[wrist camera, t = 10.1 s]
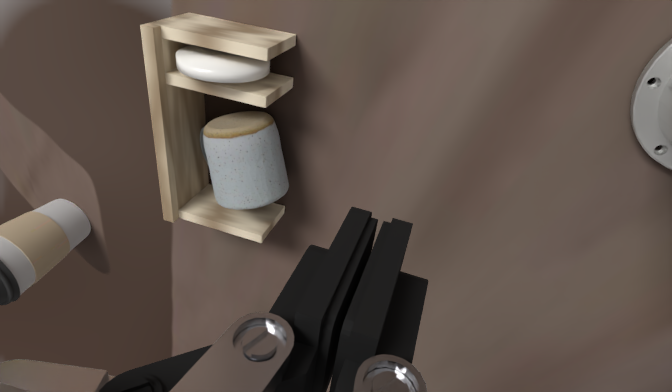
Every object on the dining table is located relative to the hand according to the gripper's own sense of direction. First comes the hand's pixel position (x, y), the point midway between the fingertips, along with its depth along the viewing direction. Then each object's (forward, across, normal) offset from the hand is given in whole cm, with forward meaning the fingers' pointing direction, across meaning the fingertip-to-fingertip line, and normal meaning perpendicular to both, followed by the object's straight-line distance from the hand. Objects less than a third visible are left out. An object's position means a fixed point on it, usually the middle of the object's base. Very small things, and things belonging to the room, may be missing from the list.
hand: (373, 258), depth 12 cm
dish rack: (+29, +20, +12) cm, 37 cm away
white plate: (+29, +19, +4) cm, 35 cm away
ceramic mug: (+29, +18, +15) cm, 38 cm away
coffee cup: (+29, +47, +34) cm, 65 cm away
